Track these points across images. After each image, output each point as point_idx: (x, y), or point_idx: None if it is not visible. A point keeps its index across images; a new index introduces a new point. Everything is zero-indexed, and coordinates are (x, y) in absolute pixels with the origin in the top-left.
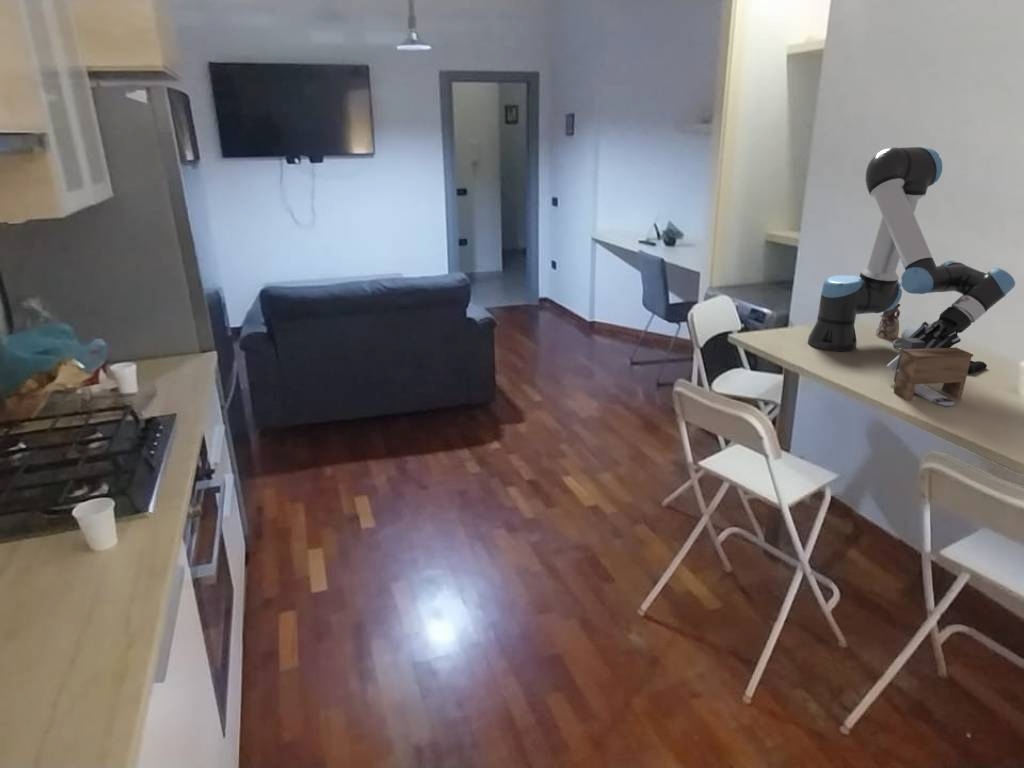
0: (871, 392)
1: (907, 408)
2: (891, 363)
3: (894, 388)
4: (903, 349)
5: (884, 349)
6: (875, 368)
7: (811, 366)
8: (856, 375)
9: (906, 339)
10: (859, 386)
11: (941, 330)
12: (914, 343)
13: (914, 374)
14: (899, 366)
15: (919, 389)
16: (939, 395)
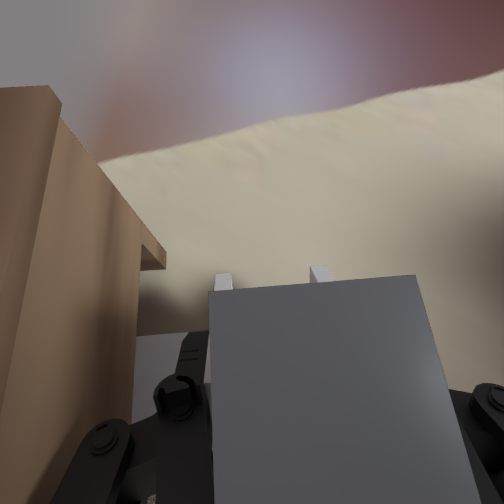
0: (176, 174)
1: None
2: (315, 278)
3: (161, 246)
4: (38, 95)
5: None
6: (487, 346)
7: (451, 109)
8: (366, 211)
9: (362, 292)
10: (239, 165)
11: None
12: (213, 331)
13: None
14: (115, 190)
15: (143, 364)
16: None
